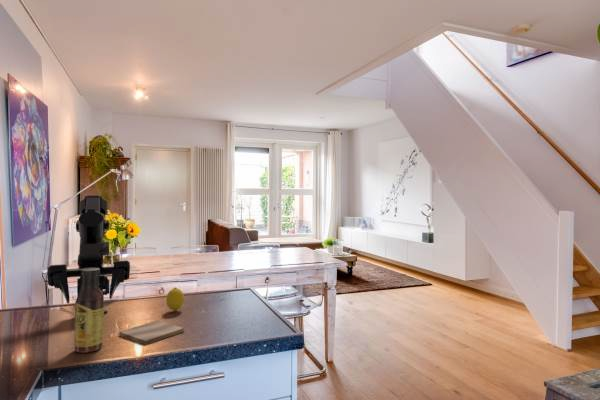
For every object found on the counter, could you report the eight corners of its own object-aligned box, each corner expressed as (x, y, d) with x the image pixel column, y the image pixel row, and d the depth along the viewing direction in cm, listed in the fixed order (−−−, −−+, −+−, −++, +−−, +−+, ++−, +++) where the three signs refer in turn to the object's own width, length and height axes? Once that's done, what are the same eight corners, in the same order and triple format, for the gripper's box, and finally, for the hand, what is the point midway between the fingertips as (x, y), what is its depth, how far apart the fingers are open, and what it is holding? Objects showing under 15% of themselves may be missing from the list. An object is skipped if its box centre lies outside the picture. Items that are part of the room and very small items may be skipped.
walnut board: (119, 335, 102) (119, 331, 102) (158, 323, 112) (158, 320, 112) (145, 344, 95) (145, 340, 95) (184, 331, 105) (184, 328, 105)
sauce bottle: (70, 349, 92) (71, 268, 92) (98, 342, 96) (98, 265, 97) (79, 356, 87) (80, 271, 88) (107, 349, 92) (108, 268, 92)
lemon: (178, 314, 121) (178, 289, 122) (163, 313, 123) (163, 288, 123) (186, 309, 127) (187, 286, 127) (172, 308, 128) (172, 285, 128)
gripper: (48, 233, 94) (41, 285, 84) (129, 230, 103) (132, 277, 93) (51, 260, 101) (45, 312, 91) (127, 256, 110) (130, 302, 100)
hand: (89, 300), depth 93 cm, fingers open, 9 cm apart
